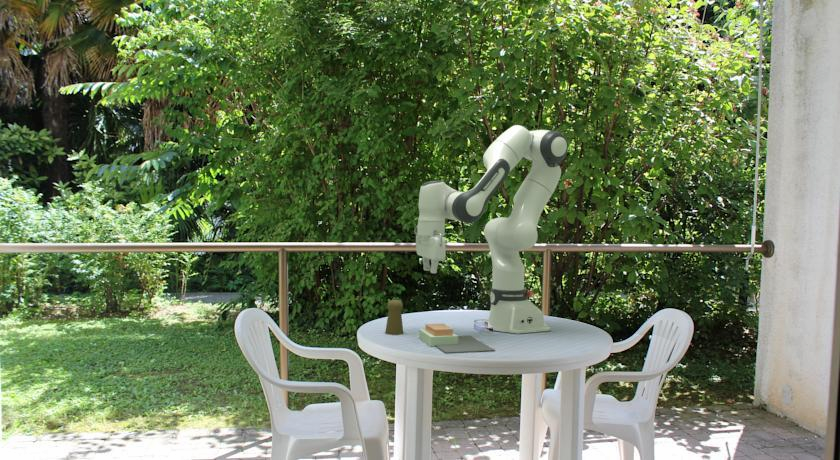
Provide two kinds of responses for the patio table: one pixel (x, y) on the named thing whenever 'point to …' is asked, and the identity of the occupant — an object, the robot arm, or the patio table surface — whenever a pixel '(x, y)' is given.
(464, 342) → the mat
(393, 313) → the cork
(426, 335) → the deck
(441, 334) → the block
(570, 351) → the patio table surface
